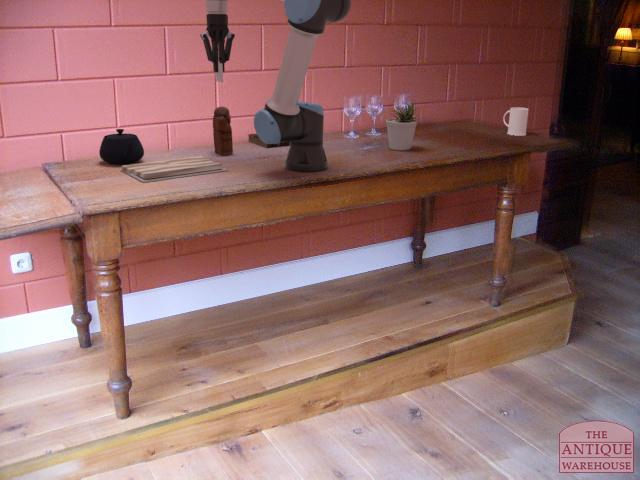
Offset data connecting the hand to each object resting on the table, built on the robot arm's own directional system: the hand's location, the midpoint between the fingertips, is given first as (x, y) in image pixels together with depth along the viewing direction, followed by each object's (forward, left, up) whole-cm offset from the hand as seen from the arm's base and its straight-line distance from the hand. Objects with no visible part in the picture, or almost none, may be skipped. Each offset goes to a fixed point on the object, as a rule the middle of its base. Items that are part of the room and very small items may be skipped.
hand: (219, 81), depth 241 cm
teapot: (+12, +34, -29) cm, 46 cm away
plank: (-13, +24, -28) cm, 39 cm away
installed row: (-3, +24, -28) cm, 37 cm away
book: (+15, -37, -29) cm, 49 cm away
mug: (-26, -140, -29) cm, 145 cm away
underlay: (-10, +24, -28) cm, 39 cm away
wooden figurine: (+8, -5, -29) cm, 30 cm away
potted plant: (-24, -70, -29) cm, 79 cm away
